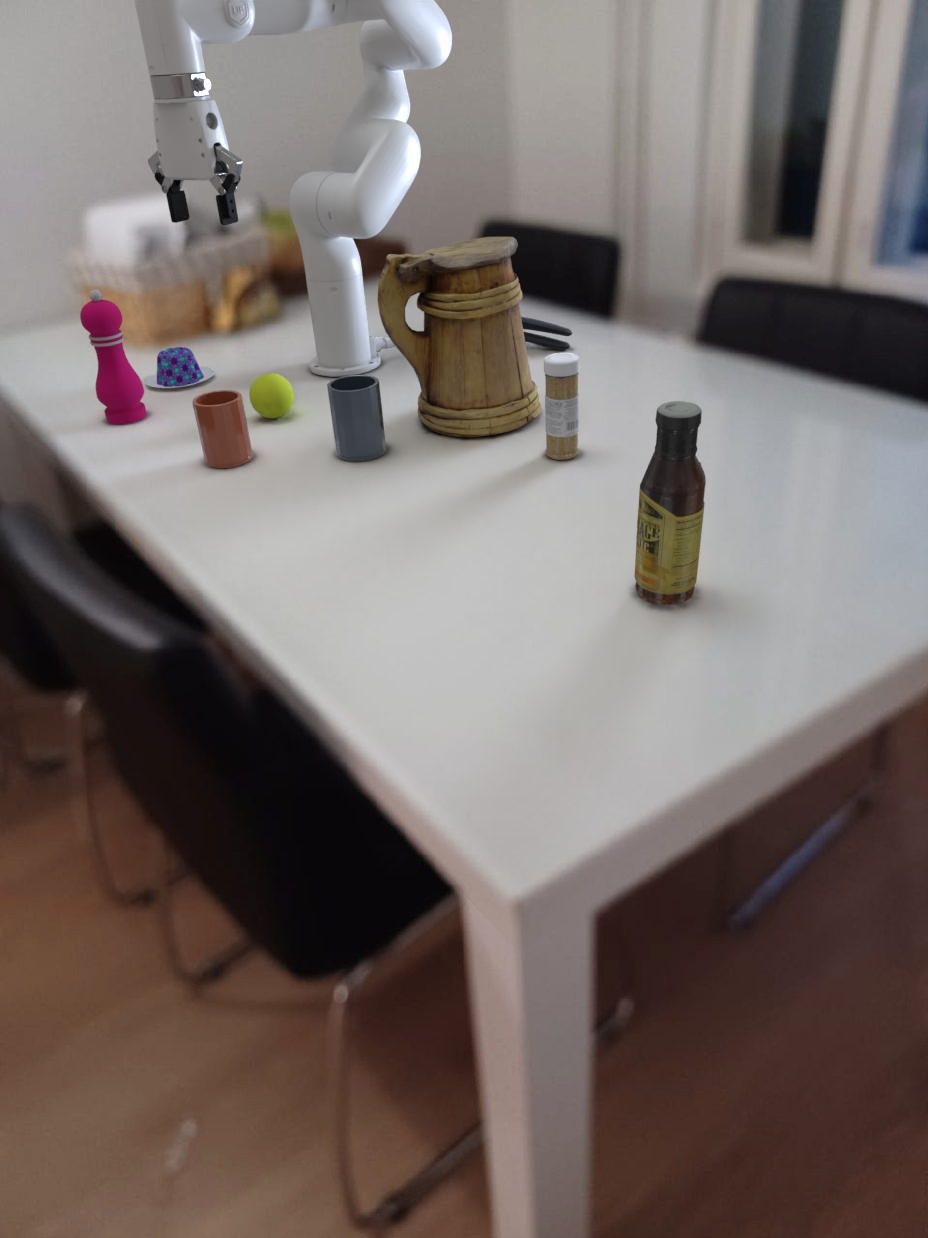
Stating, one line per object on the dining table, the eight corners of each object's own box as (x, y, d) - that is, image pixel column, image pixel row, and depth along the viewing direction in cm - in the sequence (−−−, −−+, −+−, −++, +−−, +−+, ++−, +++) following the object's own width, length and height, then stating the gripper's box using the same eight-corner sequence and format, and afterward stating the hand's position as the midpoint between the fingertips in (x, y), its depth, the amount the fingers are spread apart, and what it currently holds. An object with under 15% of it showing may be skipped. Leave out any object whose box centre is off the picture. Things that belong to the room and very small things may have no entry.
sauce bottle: (627, 580, 100) (634, 397, 90) (686, 575, 100) (700, 391, 90) (642, 613, 95) (652, 421, 84) (704, 607, 95) (721, 415, 84)
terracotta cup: (242, 446, 139) (231, 386, 135) (259, 460, 135) (248, 398, 130) (199, 458, 137) (186, 397, 132) (215, 472, 132) (201, 409, 127)
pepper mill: (136, 426, 149) (103, 295, 139) (95, 425, 151) (59, 295, 140) (158, 410, 155) (127, 283, 145) (117, 409, 157) (85, 284, 146)
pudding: (131, 389, 166) (123, 359, 163) (173, 368, 175) (167, 339, 172) (188, 394, 161) (181, 363, 159) (228, 372, 171) (222, 342, 168)
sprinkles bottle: (567, 445, 132) (567, 349, 125) (585, 456, 129) (586, 357, 122) (539, 452, 131) (537, 355, 124) (556, 463, 127) (555, 364, 120)
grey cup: (372, 438, 139) (364, 371, 134) (395, 453, 134) (387, 383, 129) (328, 450, 136) (318, 382, 131) (350, 465, 131) (341, 395, 126)
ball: (287, 406, 153) (280, 364, 150) (304, 417, 148) (297, 374, 145) (247, 416, 151) (239, 373, 147) (263, 428, 146) (255, 384, 142)
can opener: (475, 345, 176) (474, 314, 173) (494, 335, 181) (493, 305, 178) (562, 356, 167) (562, 323, 164) (579, 345, 172) (579, 313, 169)
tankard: (564, 419, 141) (563, 241, 128) (421, 457, 132) (404, 269, 119) (502, 388, 155) (496, 223, 141) (369, 419, 146) (349, 247, 133)
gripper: (246, 85, 130) (266, 219, 139) (155, 88, 138) (180, 215, 147) (207, 89, 125) (231, 229, 134) (115, 93, 133) (144, 224, 142)
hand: (205, 222), depth 140 cm, fingers open, 9 cm apart
